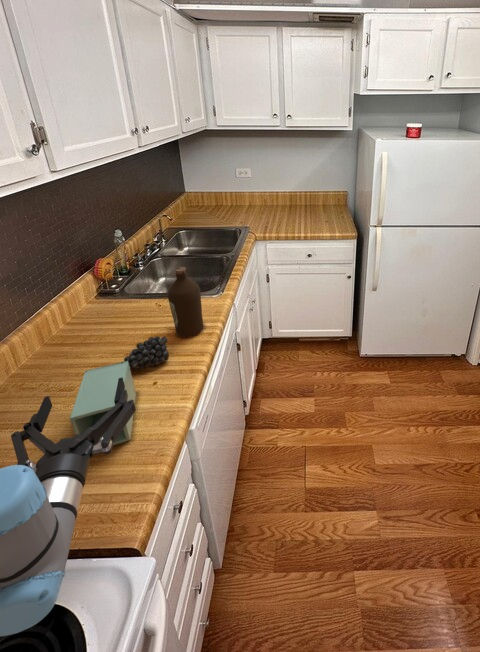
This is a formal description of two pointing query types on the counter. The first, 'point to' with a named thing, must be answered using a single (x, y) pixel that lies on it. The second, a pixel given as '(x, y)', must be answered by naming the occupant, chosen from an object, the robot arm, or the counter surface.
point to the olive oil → (185, 305)
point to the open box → (101, 398)
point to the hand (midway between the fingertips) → (86, 391)
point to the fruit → (148, 353)
